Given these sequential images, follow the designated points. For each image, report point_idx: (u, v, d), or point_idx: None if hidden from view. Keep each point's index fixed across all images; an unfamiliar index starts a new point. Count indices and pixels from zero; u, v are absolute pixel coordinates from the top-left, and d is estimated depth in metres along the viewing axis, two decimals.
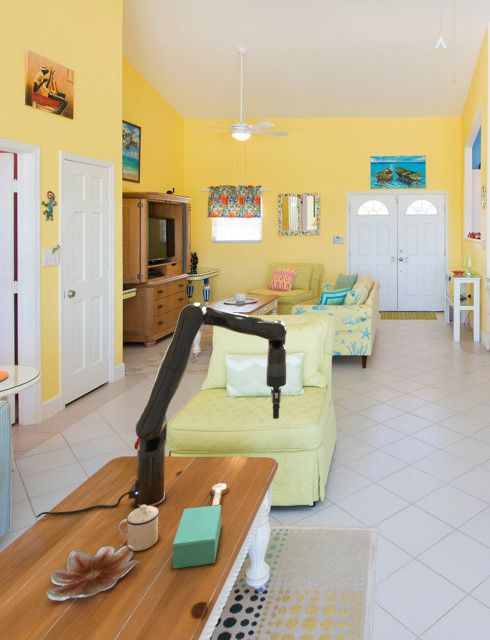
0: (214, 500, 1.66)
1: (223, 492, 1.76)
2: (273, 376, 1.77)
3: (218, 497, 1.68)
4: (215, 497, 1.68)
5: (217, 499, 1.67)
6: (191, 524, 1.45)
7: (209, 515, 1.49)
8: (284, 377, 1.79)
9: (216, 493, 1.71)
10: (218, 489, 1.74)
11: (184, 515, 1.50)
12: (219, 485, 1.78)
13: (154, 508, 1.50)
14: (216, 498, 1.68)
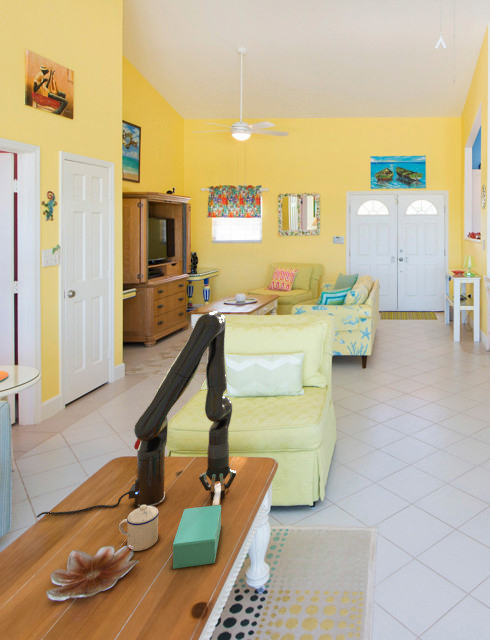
0: (214, 500, 1.66)
1: None
2: None
3: (218, 497, 1.68)
4: (215, 497, 1.68)
5: (217, 499, 1.67)
6: (191, 524, 1.45)
7: (209, 515, 1.49)
8: (211, 461, 1.68)
9: (216, 493, 1.71)
10: (218, 489, 1.74)
11: (184, 515, 1.50)
12: (219, 485, 1.78)
13: (154, 508, 1.50)
14: (216, 498, 1.68)
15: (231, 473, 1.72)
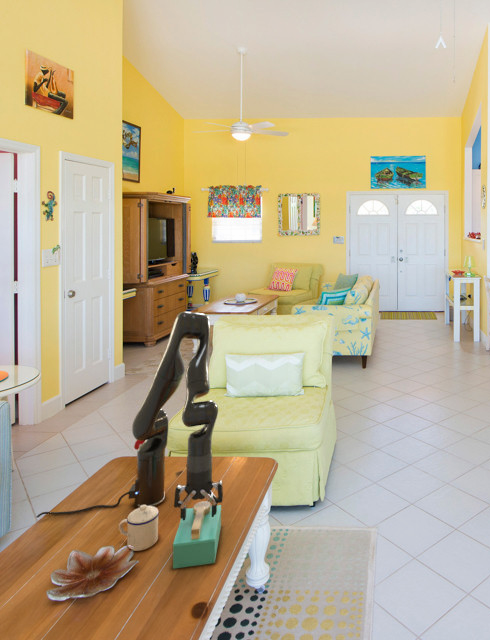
0: (195, 523, 1.40)
1: (206, 512, 1.50)
2: None
3: (199, 519, 1.42)
4: (196, 519, 1.42)
5: (198, 522, 1.41)
6: (191, 524, 1.45)
7: (209, 515, 1.49)
8: (190, 475, 1.42)
9: (197, 514, 1.45)
10: (200, 509, 1.48)
11: None
12: (202, 503, 1.53)
13: (154, 508, 1.50)
14: (197, 520, 1.42)
15: (216, 486, 1.46)
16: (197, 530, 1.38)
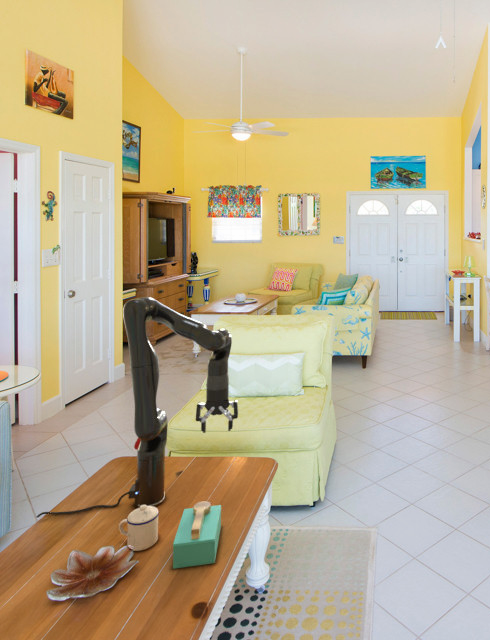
0: (195, 523, 1.40)
1: (206, 512, 1.50)
2: None
3: (199, 519, 1.42)
4: (196, 519, 1.42)
5: (198, 522, 1.41)
6: (191, 524, 1.45)
7: (209, 515, 1.49)
8: (210, 392, 1.63)
9: (197, 514, 1.45)
10: (200, 509, 1.48)
11: (184, 515, 1.50)
12: (202, 503, 1.53)
13: (154, 508, 1.50)
14: (197, 520, 1.42)
15: (232, 404, 1.67)
16: (197, 530, 1.38)
